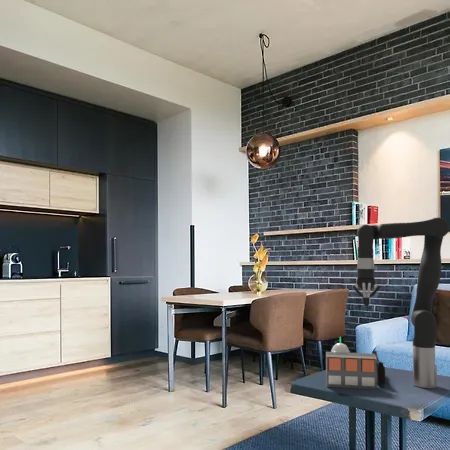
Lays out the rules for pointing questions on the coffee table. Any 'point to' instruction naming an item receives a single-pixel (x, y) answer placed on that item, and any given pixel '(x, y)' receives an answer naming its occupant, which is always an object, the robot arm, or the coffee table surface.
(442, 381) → the coffee table surface
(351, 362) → the switch
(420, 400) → the coffee table surface
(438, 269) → the robot arm
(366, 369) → the switch
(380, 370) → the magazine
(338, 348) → the smoothie
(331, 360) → the switch
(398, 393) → the coffee table surface
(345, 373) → the dark grey block
